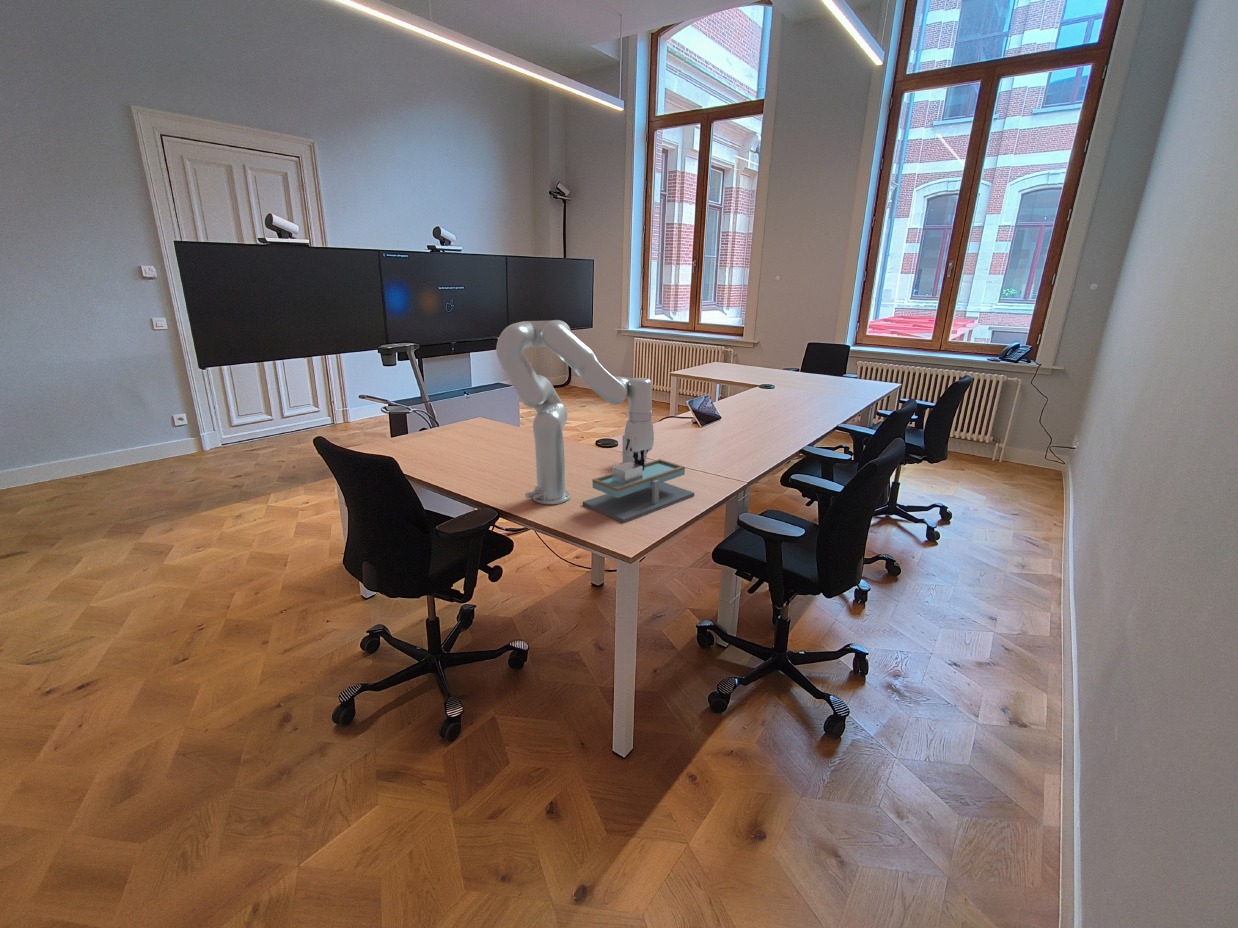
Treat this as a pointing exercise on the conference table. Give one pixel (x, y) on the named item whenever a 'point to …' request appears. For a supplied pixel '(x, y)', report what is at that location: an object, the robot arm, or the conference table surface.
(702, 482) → the conference table surface
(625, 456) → the supplement box
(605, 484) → the beam
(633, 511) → the stand
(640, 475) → the steel block
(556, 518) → the conference table surface
